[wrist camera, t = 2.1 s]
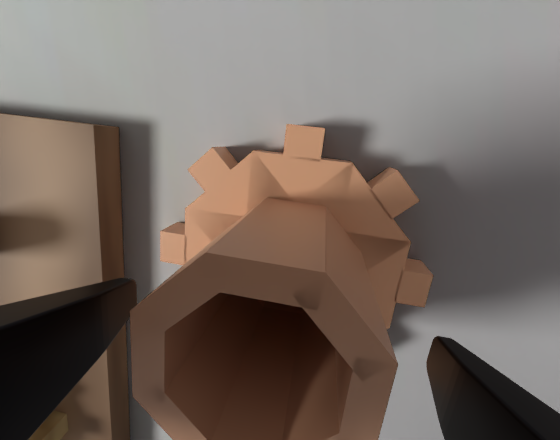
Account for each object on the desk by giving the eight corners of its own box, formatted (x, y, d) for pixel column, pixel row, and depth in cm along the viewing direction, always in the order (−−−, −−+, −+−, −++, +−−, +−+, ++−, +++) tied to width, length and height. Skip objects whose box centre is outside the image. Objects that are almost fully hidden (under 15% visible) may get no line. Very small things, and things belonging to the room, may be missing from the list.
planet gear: (451, 144, 11) (675, 144, 4) (389, 378, 14) (455, 616, 7) (179, 113, 13) (-17, 73, 5) (175, 334, 16) (46, 497, 8)
